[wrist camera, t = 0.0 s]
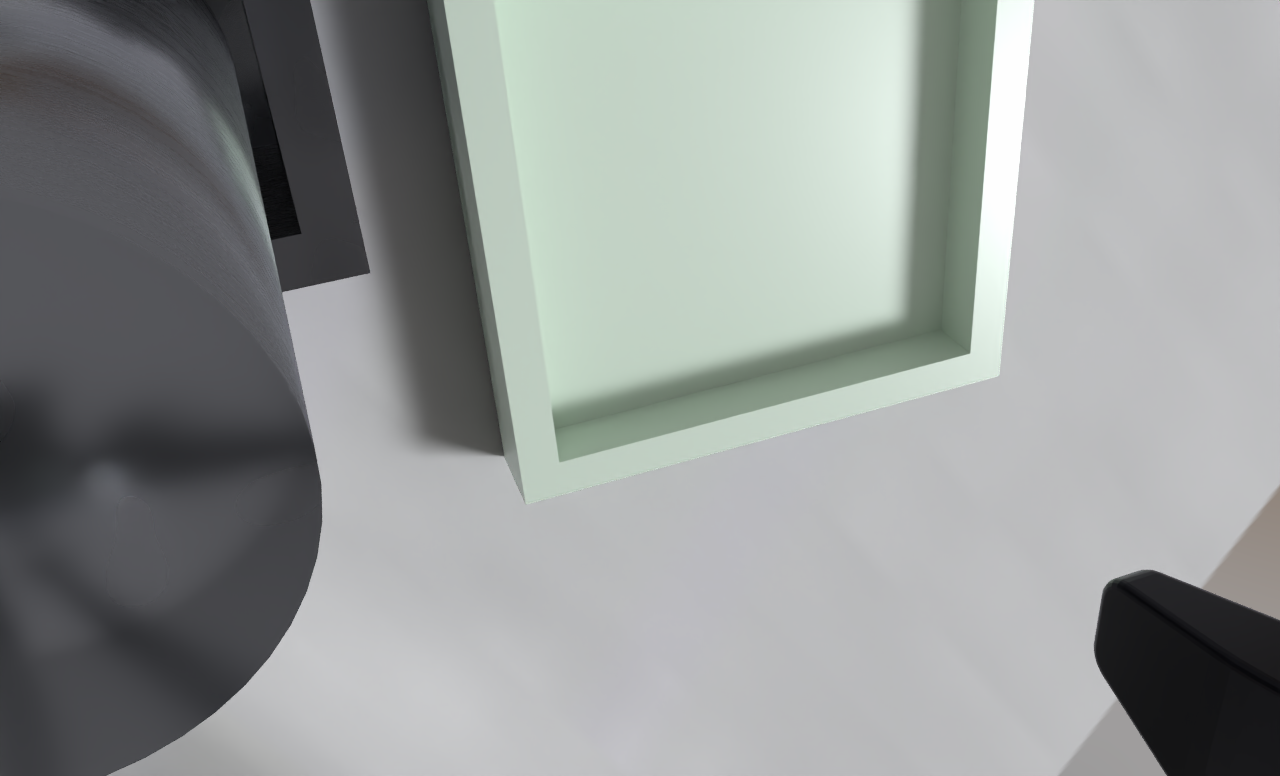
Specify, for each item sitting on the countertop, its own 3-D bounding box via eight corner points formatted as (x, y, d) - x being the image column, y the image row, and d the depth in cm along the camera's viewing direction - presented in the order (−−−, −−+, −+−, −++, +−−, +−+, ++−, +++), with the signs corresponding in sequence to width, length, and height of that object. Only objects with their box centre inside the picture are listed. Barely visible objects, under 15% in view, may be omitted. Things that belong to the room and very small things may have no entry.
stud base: (342, 168, 22) (377, 257, 18) (-81, 250, 20) (-129, 366, 17) (243, -276, 18) (264, -266, 14) (-288, -220, 16) (-403, -195, 13)
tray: (955, 340, 28) (999, 376, 27) (504, 458, 26) (526, 504, 24) (990, -168, 23) (1049, -157, 21) (412, -83, 20) (433, -64, 18)
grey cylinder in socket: (335, 178, 21) (544, 750, 10) (-83, 261, 19) (-406, 1058, 8) (236, -256, 17) (387, -141, 6) (-286, -200, 15) (-1356, 94, 5)
